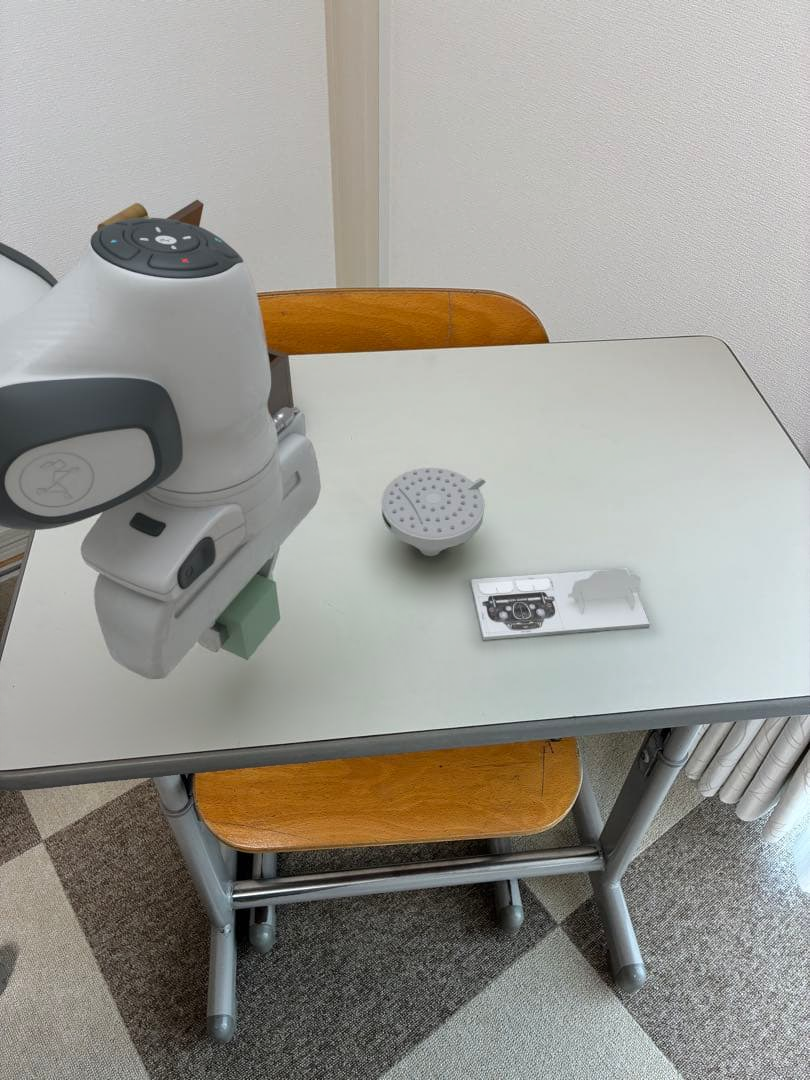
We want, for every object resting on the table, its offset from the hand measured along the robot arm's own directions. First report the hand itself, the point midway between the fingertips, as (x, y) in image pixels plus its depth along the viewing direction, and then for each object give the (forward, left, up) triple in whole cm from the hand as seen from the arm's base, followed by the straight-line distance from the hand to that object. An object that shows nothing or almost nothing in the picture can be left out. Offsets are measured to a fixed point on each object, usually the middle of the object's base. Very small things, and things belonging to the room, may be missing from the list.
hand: (237, 615), depth 60 cm
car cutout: (+28, -3, -9) cm, 29 cm away
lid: (+3, +38, +7) cm, 38 cm away
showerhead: (+20, +7, -9) cm, 23 cm away
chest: (+5, +34, -9) cm, 36 cm away
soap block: (0, 0, -2) cm, 2 cm away
